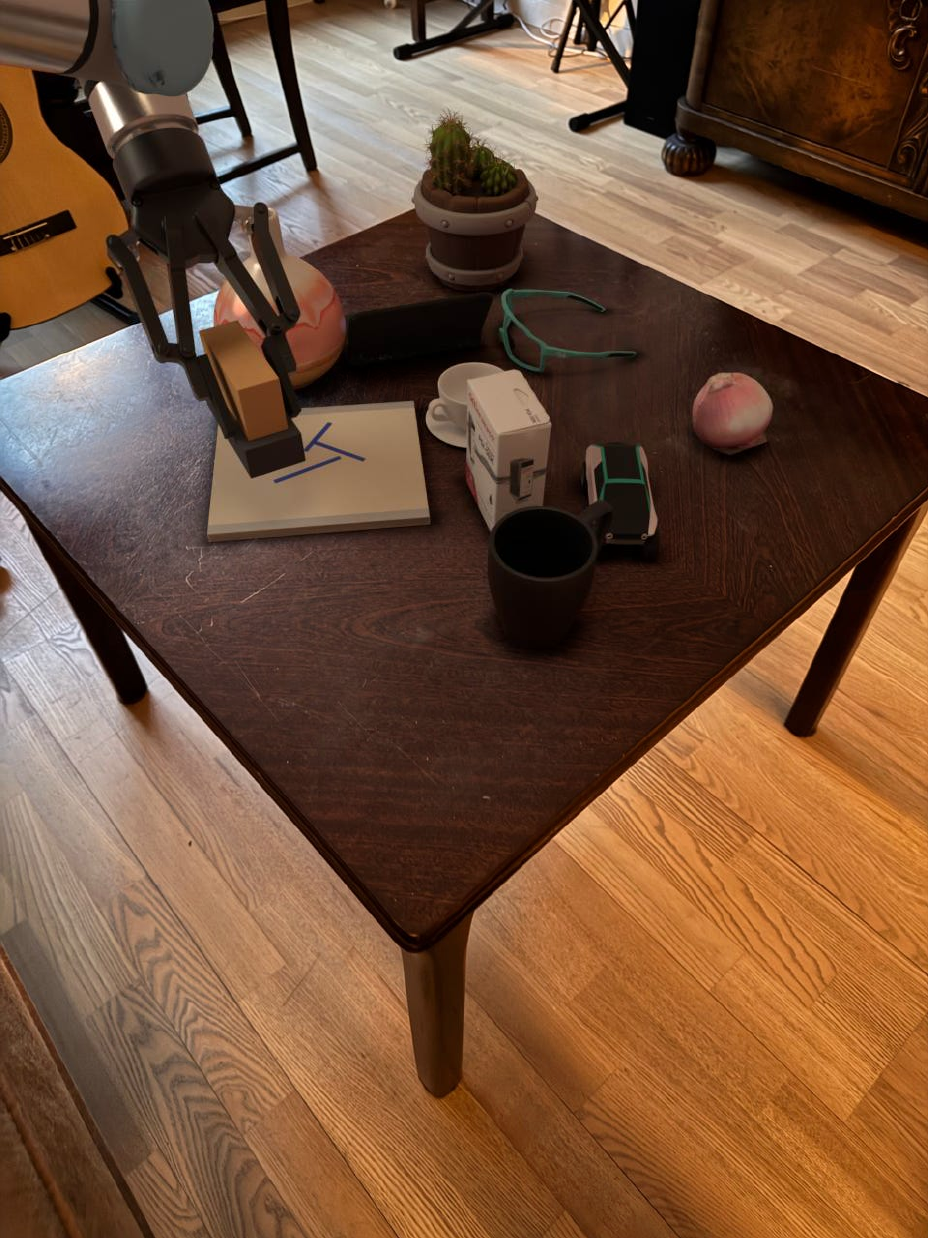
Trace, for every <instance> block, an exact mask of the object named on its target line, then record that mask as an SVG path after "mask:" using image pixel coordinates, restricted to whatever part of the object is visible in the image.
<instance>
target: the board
mask: <svg viewBox="0 0 928 1238" xmlns="http://www.w3.org/2000/svg"><path fill="white" fill-rule="evenodd" d="M301 410H302V411H301V412H300V413H299V415H298V416H297V417H295V418H292V421H293V422H294V424H295V425H296V427H297V428H298V429H299V431H300V432H301V435H302V441H303V447H304V452H305V458H306V461H304V462H301V463H298V464H295V465H292V466H289V467H286V468H283V469H280V470H277V471H274V472H271V473H268V474H265V475H262V476H259V477H256V478H253V479H251V478H250V476H249V474H248V473H247V471H246V469H245V468H244V466H243V464H242V463H241V461H240V459H239V458H238V456H237V454H236V453H235V451H234V449H233V448H232V446H231V444H230V443H229V441H228V439H225V438H224V435H223V433H222V430H221V428H220V426H219V424H218V423H217V424H218V425H217V434H216V435H217V436H216V445H215V454H214V463H213V464H214V465H213V472H212V473H213V475H212V484H211V491H210V492H211V493H210V501H209V502H210V503H209V511H208V512H209V513H208V521H207V531H206V535H207V539H208V542H209V543H213V542H226V541H238V540H252V539H265V538H279V537H290V536H300V535H301V536H302V535H313V534H326V533H338V532H340V533H341V532H350V531H351V532H352V531H362V530H376V529H388V528H401V527H402V528H403V527H413V526H427V525H431V515H430V508H429V501H428V494H427V485H426V479H425V473H424V466H423V459H422V451H421V444H420V443H421V442H420V438H419V430H418V423H417V416H416V408H415V402H414V400H407V401H405V400H404V401H392V402H391V401H390V402H389V401H388V402H376V403H361V404H360V403H359V404H347V405H333V406H331V405H330V406H318V407H316V406H315V407H303V408H301Z"/></svg>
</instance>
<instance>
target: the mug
mask: <svg viewBox="0 0 928 1238" xmlns="http://www.w3.org/2000/svg"><path fill="white" fill-rule="evenodd" d="M612 518H613V509H612V506H611V505H610V504H609V503H608V502H606V501H604V500H598V501H595V502H594V503H592V504H590V505H589V504H588V505H587V506H586V507H585V508H584V509H582V510H581V511H580V512H578V514H575V513H573V512H571V511H569V510H566V509H563V508H560V507H555V506H549V505H543V506H531V507H524V508H521V509H517V510H514V511H512V512H510V513H508V514H506V515H505V516H503V517H502V518H501V519H500V520H498V522H497V523H496V524H495V525H494V527H493V528H492V530H491V531H490V533H489V536H488V548H487V550H488V551H487V580H488V586H489V587H488V588H489V591H490V595H491V600H492V603H493V606H494V610H495V613H496V615H497V618H498V620H499V623H500V625H501V629H502V632H503V633H504V635H505V637H506V638H507V639H508V640H509V641H510V642H511V643H513V644H514V645H516V646H518V647H520V648H523V649H526V650H531V651H541V650H548V649H551V648H554V647H555V646H557V645H559V644H560V643H561V642H563V640H564V639H565V638H566V636H567V635H568V633H569V631H570V629H571V628H572V626H573V625H574V623H575V622H576V620H577V619H578V617H579V615H580V613H581V612H582V610H583V608H584V606H585V603H586V601H587V599H588V597H589V594H590V591H591V588H592V584H593V581H594V576H595V571H596V567H597V566H596V565H597V561H598V556H597V554H598V551H599V549H600V547H601V545H602V543H603V541H604V539H605V537H606V534H607V532H608V530H609V527H610V525H611V522H612ZM593 522H594V524H593ZM590 525H593V527H592V528H591V527H590ZM602 546H603V545H602Z"/></svg>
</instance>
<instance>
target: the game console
mask: <svg viewBox="0 0 928 1238" xmlns="http://www.w3.org/2000/svg"><path fill="white" fill-rule="evenodd" d="M493 302H494V295H493V294H492V293H491V292H489V291H482V292H476V293H470V294H464V295H463V294H462V295H458V296H452V297H445V298H439V299H433V300H426V301H420V302H414V303H408V304H402V305H395V306H389V307H383V308H377V309H376V308H375V309H370V310H369V309H368V310H364V311H363V310H362V311H359V312H356V313H349V314H345V319H346V340H345V344H344V347H343V350H342V351H343V353H344V356H345V359H346V360H347V364H348V366H350V367H361V366H366V365H369V364H376V363H381V362H386V361H394V360H400V359H403V358H408V357H410V356H412V355H413V356H414V355H419V354H420V355H421V354H424V355H426V354H427V355H428V354H435V353H442V352H446V351H453V350H459V349H463V348H473V347H477V346H480V345H481V343H482V337H483V336H482V335H483V334H482V331H483V329H484V327H485V324H486V321H487V318H488V315H489V312H490V310H491V307H492V305H493Z"/></svg>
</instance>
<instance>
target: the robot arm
mask: <svg viewBox="0 0 928 1238" xmlns="http://www.w3.org/2000/svg"><path fill="white" fill-rule="evenodd" d="M213 18H214V17H213V13H212V9H211V5H210V2H209V0H0V66H7V67H12V68H18V69H24V70H30V71H31V70H32V71H36V72H37V71H38V72H43V73H44V72H45V73H51V74H55V75H56V74H57V75H58V76H64V77H69V78H75V79H77V80H78V82H79V85H80V86H81V89H82V91H83V94H84V96H85V98H86V101H87V104H88V106H89V108H90V109H91V111H92V114H93V118H94V119H95V122H96V125H97V128H98V131H99V133H100V136H101V138H102V142H103V143H104V147H105V150H106V151H107V154H108V155H109V157H111V158H112V159H113V161H112V167H113V170H114V172H115V175H116V177H117V180H118V183H119V185H120V187H121V190H122V193H123V195H124V198H125V201H126V203H127V205H128V208H129V210H130V213H131V219H130V226H131V227H130V228H128V229H126V230H125V231H124V232H122V233H120V234H119V235H117V234H110V235H108V236H106V237H105V238H106V239H105V247H106V256H107V257H108V259H109V260H110V261H111V263H112V264H113V265H114V266H115V268H116V269H117V270H118V272H120V274H121V275H122V276H123V277H124V281H125V284H126V287H127V289H128V291H129V294H130V297H131V299H132V302H133V304H134V307H135V310H136V313H137V315H138V319H139V320H140V323H141V326H142V328H143V331H144V334H145V337H146V339H147V341H148V345H149V347H150V349H151V352H152V354H153V357H154V359H155V361H156V362H157V363H159V364H167V363H172V364H177V365H179V366H181V367H182V369H183V371H184V375H185V377H186V379H187V381H188V384H189V386H190V389H191V391H192V394H193V396H194V398H195V399H196V401H198V402H199V403H202V402H206V400H210V402H211V405H212V407H213V410H214V412H215V415H216V417H217V420H218V423H219V425H220V428H221V430H222V433H223V435H224V438H225V439H228V438H231V437H233V436H234V435H235V433H236V431H237V430H236V427H235V425H234V422H233V420H232V417H231V414H230V412H229V409H228V407H227V404H226V402H225V399H224V396H223V394H222V391H221V389H220V386H219V384H218V381H217V378H216V376H215V373H214V371H213V368H212V366H211V363H210V360H209V358H208V355H207V353H206V354H204V353H202V354H199V355H198V354H197V352H196V344H195V343H196V342H195V335H194V334H195V333H194V327H193V318H192V310H191V302H190V295H189V285H188V278H187V270H188V269H191V268H194V267H195V266H197V265H198V264H207V265H209V264H212V263H213V264H214V266H215V267H216V269H217V270H218V272H219V273H220V274H222V275H223V276H224V278H225V280H226V279H227V280H228V282H229V283H230V285H231V286H232V288H233V289H234V291H235V292H236V294H237V295H238V297H239V298H240V300H241V301H242V303H243V304H244V306H245V307H246V308H247V310H248V311H249V313H250V314H251V316H252V317H253V319H254V320H255V322H256V323H257V325H258V326H259V328H260V329H261V331H262V332H263V334H264V335H265V336H266V337H265V338H264V340H263V342H262V345H261V349H262V352H263V354H264V357H265V359H266V361H267V362H268V364H269V365H270V366H271V368H272V369H273V371H274V372H275V373H276V375H277V376H278V378H279V380H280V386H281V391H282V397H283V402H284V408H285V411H286V412H287V414H288V415H289V417H290V418H291V419H292V418H295V417H297V416H298V415H299V413H300V412H301V411H302V410H301V405H300V404H301V403H300V402H299V400H298V397H297V395H296V390H294V389H293V386H292V383H291V381H290V378H289V376H291V375H294V374H295V372H296V361H295V359H294V356H293V353H292V351H291V348H290V345H289V343H288V340H287V338H286V332H287V331H289V330H290V329H292V328H294V327H295V325H296V323H297V322H298V320H299V318H300V315H301V313H300V309H299V307H298V304H297V301H296V299H295V296H294V294H293V291H292V289H291V286H290V283H289V281H288V278H287V276H286V273H285V270H284V268H283V265H282V263H281V260H280V258H279V255H278V252H277V250H276V247H275V245H274V242H273V239H272V237H271V234H270V232H269V215H268V207H269V206H267V204H265V203H264V202H262V201H258V202H256V203H255V204H254V205H253V206H247V205H241V204H240V205H239V204H235V203H234V201H233V200H232V198H231V197H230V196H228V195H227V193H226V192H225V191H224V190H223V188H222V186H221V182H220V180H219V178H218V175H217V172H216V169H215V167H214V164H213V162H212V159H211V157H210V154H209V150H208V149H207V145H206V143H205V140H204V138H203V137H202V136H201V135H199V132H200V128H199V124H198V122H197V119H196V117H195V114H194V111H193V109H192V107H191V104H190V101H189V99H188V96H187V93H190V92H191V91H193V90H194V89H195V88H196V87H197V86H198V85H199V84H200V83H201V82H202V80H203V79H204V77H205V76H206V74H207V72H208V69H209V67H210V64H211V61H212V57H213V52H214V49H213V48H214V47H213V45H214V44H213V43H214V41H215V40H214V31H215V28H214V25H215V24H214V19H213ZM234 222H235V223H238V224H239V226H240V227H241V230H242V232H243V233H244V234H245V235H246V236H248V237H249V236H251V241H252V246H253V249H254V252H255V254H256V257H257V260H258V262H259V265H260V267H261V270H262V272H263V275H264V277H265V280H266V283H267V285H268V288H269V290H270V293H271V295H272V298H273V300H274V303H275V306H276V308H277V311H278V313H279V316H278V315H277V314H276V312H275V311H274V309H273V308H272V306H271V305H270V303H269V302H268V301H267V299H266V298H265V296H264V295H263V293H262V292H261V290H260V289H259V287H258V286H257V284H256V283H255V281H254V280H253V278H252V277H251V275H250V274H249V272H248V271H247V269H246V268H245V266H244V265H243V261H242V260H241V259H240V257H239V255H238V252H237V250H236V248H235V246H234V245H233V243H232V242H231V240H230V239H229V238H230V235H231V232H232V228H233V224H234ZM139 244H141V245H142V246H143V247H145V248H146V249H148V250H149V251H150V252H151V253H153V254H154V255H156V256H158V257H159V258H160V259H161V260H163V261H164V262H165V263H166V270H167V278H168V283H169V290H170V298H171V299H170V300H171V305H172V306H171V307H172V313H173V321H174V322H173V323H174V329H175V338H176V339H175V340H176V342H169V339H168V337H167V334H166V332H165V331H166V330H165V328H164V326H163V324H162V321H161V318H160V315H159V313H158V311H157V307H156V305H155V303H154V300H153V297H152V294H151V292H150V289H149V287H148V284H147V281H146V279H145V276H144V274H143V271H142V268H141V265H140V264H139V260H140V249H139V247H138V246H139ZM218 423H217V424H218Z"/></svg>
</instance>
